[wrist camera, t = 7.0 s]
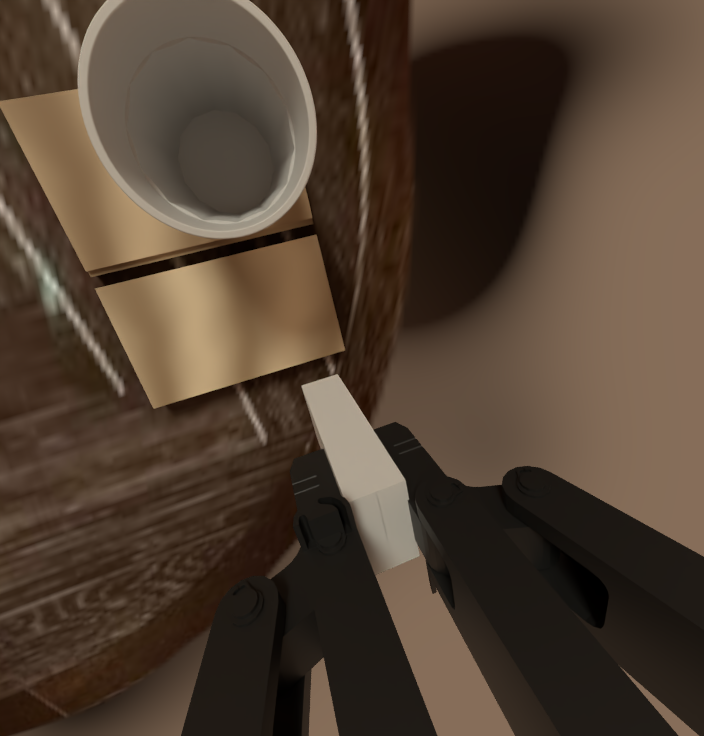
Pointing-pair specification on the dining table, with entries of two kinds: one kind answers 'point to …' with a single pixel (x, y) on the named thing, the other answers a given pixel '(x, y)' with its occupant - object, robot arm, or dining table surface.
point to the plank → (225, 319)
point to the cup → (198, 112)
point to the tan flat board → (103, 191)
